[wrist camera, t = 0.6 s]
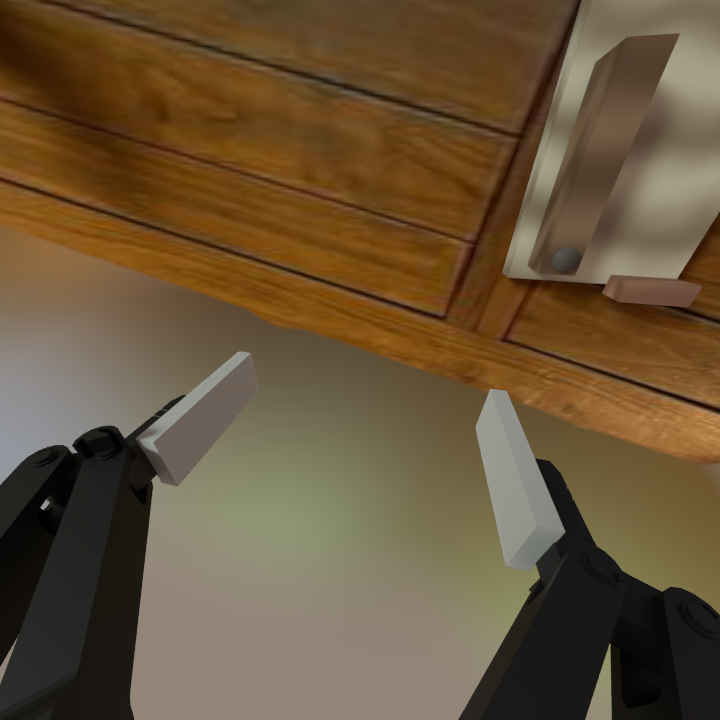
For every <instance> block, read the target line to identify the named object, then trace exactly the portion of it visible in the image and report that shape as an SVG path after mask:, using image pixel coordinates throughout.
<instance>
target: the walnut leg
mask: <svg viewBox="0 0 720 720" xmlns="http://www.w3.org/2000/svg"><path fill="white" fill-rule="evenodd" d="M679 35H680V33H674V34H659V35H644V36H630V37H626V38H625V39H624V40H623V41H621V42H620V43H619V44H618V45H616V46H615V47H614V48H613V49H611V50H610V51H609V52H608V53H606V54H605V55H604V56H603V57H601V58H600V59H599V60H598V61H596V62H595V64H594V67H593V70H592V73H591V76H590V79H589V82H588V85H587V88H586V91H585V94H584V97H583V100H582V103H581V106H580V109H579V112H578V115H577V118H576V121H575V124H574V127H573V130H572V133H571V136H570V139H569V142H568V145H567V148H566V151H565V154H564V157H563V160H562V163H561V166H560V169H559V172H558V175H557V178H556V181H555V184H554V187H553V190H552V193H551V196H550V199H549V202H548V205H547V208H546V211H545V214H544V217H543V220H542V223H541V226H540V229H539V232H538V235H537V238H536V241H535V244H534V247H533V250H532V253H531V256H530V259H529V262H528V264H527V266H529V267H531V268H532V269H534V270H535V271H537V272H538V273H540V274H549V275H565V276H575V275H576V272H577V270H578V268H579V265H580V263H581V261H582V259H583V256H584V254H585V252H586V249H587V247H588V245H589V242H590V240H591V238H592V235H593V233H594V231H595V229H596V226H597V224H598V222H599V219H600V217H601V215H602V212H603V210H604V208H605V206H606V203H607V201H608V199H609V196H610V194H611V192H612V189H613V187H614V185H615V182H616V180H617V178H618V176H619V173H620V171H621V169H622V166H623V164H624V162H625V159H626V157H627V155H628V153H629V150H630V148H631V146H632V143H633V141H634V139H635V136H636V134H637V132H638V130H639V127H640V125H641V123H642V120H643V118H644V116H645V113H646V111H647V109H648V106H649V104H650V102H651V100H652V97H653V95H654V93H655V90H656V88H657V86H658V83H659V81H660V79H661V77H662V74H663V72H664V70H665V67H666V65H667V63H668V60H669V58H670V56H671V53H672V51H673V49H674V47H675V44H676V42H677V40H678V37H679Z"/></svg>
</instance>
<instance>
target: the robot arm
mask: <svg viewBox="0 0 720 720" xmlns="http://www.w3.org/2000/svg"><path fill="white" fill-rule="evenodd" d="M258 391H259V389H258V384H257V379H256V375H255V370H254V365H253V361H252V356H251V353H246V352H238V353H236V354H235V355H234V356H233V357H232V358H231V359H229V360H228V361H227V362H226V363H225V364H223V365H222V366H221V367H220V368H219V369H218V370H216V371H215V372H214V373H213V374H212V375H210V376H209V377H208V378H207V379H206V380H205V381H203V382H202V383H201V384H200V385H199V386H197V387H196V388H195V389H194V390H193V391H191V392H190V393H189V394H188V395H187V396H186V395H182V396H180V397H178V398H176V399H174V400H172V401H171V402H169V403H168V404H167V405H166V406H165V407H163V408H162V410H160V411H158V412H157V413H156V414H155V415H154V417H151V418H150V419H149V420H147V421H146V422H145V423H144V424H142V425H141V426H140V427H139V428H137V429H136V430H135V431H134V432H133V433H131V434H130V435H129V436H128V437H127V438H125V439H124V437H123V436H122V434H121V433H120V431H119V429H118V428H116V427H115V426H102V427H98V428H95V429H92V430H90V431H88V432H86V433H85V434H83V435H82V436H80V437H79V438H78V439H76V440H75V442H74V443H73V445H72V446H73V447H74V448H75V450H76V451H77V452H78V453H74V454H73V453H71V451H69V449H68V448H67V447H66V446H64V445H54V446H50V447H47V448H44V449H42V450H39V451H37V452H35V453H34V454H32V455H30V456H29V457H27V458H26V459H25V460H24V461H23V462H21V464H20V465H19V466H18V467H17V468H16V469H15V470H14V471H13V472H12V473H11V474H10V475H9V477H8V478H7V479H6V480H5V481H4V482H3V483H2V484H1V485H0V666H1V664H2V663H3V661H4V659H5V658H6V656H7V654H8V652H9V651H10V649H11V647H12V646H13V644H14V642H15V640H16V638H17V637H18V638H17V641H16V644H15V646H14V649H13V652H12V655H11V657H10V660H9V663H8V665H7V668H6V671H5V673H4V676H3V679H2V681H1V684H0V720H134V716H133V712H132V709H131V706H130V688H131V679H132V670H133V661H134V652H135V643H136V634H137V625H138V616H139V607H140V598H141V589H142V580H143V571H144V562H145V553H146V544H147V536H148V527H149V518H150V507H151V499H152V490H153V484H152V481H151V480H152V479H153V478H154V477H155V476H156V475H158V477H159V478H160V480H161V482H162V483H165V484H170V485H174V486H179V484H180V483H181V482H182V481H183V480H184V478H185V477H186V476H187V475H188V474H189V473H190V471H191V470H192V469H193V468H194V467H195V466H196V464H197V463H198V462H199V461H200V460H201V458H202V457H203V456H204V455H205V454H206V453H207V451H208V450H209V449H210V448H211V447H212V445H213V444H214V443H215V442H216V441H217V440H218V438H219V437H220V436H221V435H222V433H223V432H224V431H225V430H226V429H227V428H228V427H229V425H230V424H231V423H232V421H234V419H235V418H236V417H237V415H239V413H240V412H241V411H242V410H243V409H244V407H245V406H246V405H247V404H248V403H249V402H250V400H251V399H252V398H253V397H254V396H255V395H256V393H257V392H258ZM476 432H477V437H478V441H479V445H480V450H481V455H482V460H483V464H484V469H485V473H486V477H487V482H488V487H489V491H490V496H491V501H492V505H493V510H494V514H495V519H496V523H497V528H498V532H499V537H500V542H501V546H502V551H503V555H504V560H505V564H506V566H508V567H512V568H516V569H520V570H525V571H530V570H531V569H532V568H533V567H534V566H535V565H537V568H538V572H539V575H540V579H539V580H538V581H537V582H536V583H535V584H534V585H533V586H532V587H531V588H530V589H529V590H530V591H531V593H530V595H529V596H528V598H527V600H526V602H525V604H524V605H523V607H522V609H521V610H520V612H519V614H518V616H517V618H516V619H515V621H514V623H513V625H512V626H511V628H510V630H509V632H508V634H507V635H506V637H505V639H504V640H503V642H502V644H501V646H500V648H499V649H498V651H497V653H496V654H495V656H494V658H493V660H492V661H491V663H490V665H489V667H488V669H487V670H486V672H485V674H484V676H483V677H482V679H481V681H480V683H479V684H478V686H477V688H476V690H475V691H474V693H473V695H472V697H471V698H470V700H469V702H468V704H467V706H466V707H465V709H464V711H463V713H462V714H461V716H460V718H459V720H585V718H586V715H587V712H588V709H589V705H590V702H591V699H592V696H593V693H594V690H595V687H596V684H597V681H598V678H599V674H600V671H601V668H602V665H603V662H604V659H605V656H606V653H607V650H608V646H609V643H610V644H611V696H612V720H720V615H719V614H718V613H717V612H716V611H715V610H714V609H713V608H712V607H711V606H710V605H709V604H708V603H706V602H705V601H703V600H702V599H700V598H699V597H697V596H696V595H695V594H693V593H691V592H688V591H686V590H684V589H682V588H675V587H670V588H668V589H666V590H665V591H663V592H661V591H659V590H657V589H655V588H654V587H652V586H650V585H648V584H646V583H644V582H642V581H640V580H638V579H636V578H634V577H632V576H630V575H628V574H627V573H625V572H623V571H622V570H621V569H620V568H619V566H618V565H617V563H616V562H615V561H614V560H613V559H612V558H611V557H610V556H609V555H608V554H607V553H606V552H605V551H603V550H602V549H600V548H598V547H597V546H596V544H595V542H594V541H593V539H592V536H591V534H590V532H589V530H588V528H587V526H586V524H585V522H584V520H583V518H582V516H581V514H580V512H579V510H578V508H577V506H576V504H575V502H574V500H572V495H571V493H570V492H569V489H567V485H566V483H565V481H564V479H563V477H562V475H561V473H560V472H559V471H558V470H557V469H556V468H555V467H554V465H553V464H552V463H551V462H550V461H546V460H541V459H535V458H534V456H533V453H532V451H531V449H530V446H529V444H528V441H527V439H526V436H525V434H524V432H523V429H522V427H521V425H520V423H519V420H518V418H517V415H516V413H515V410H514V408H513V405H512V403H511V401H510V398H509V396H508V393H507V391H502V390H495V389H490V391H489V394H488V396H487V399H486V402H485V404H484V407H483V410H482V412H481V415H480V417H479V420H478V422H477V425H476ZM45 500H47V501H49V502H50V503H49V505H48V506H47V507H46V508H45V509H44V510H42V509H41V508H40V507H41V506H42V504H43V503H44V501H45ZM18 635H19V636H18Z"/></svg>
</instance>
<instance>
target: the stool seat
mask: <svg viewBox="0 0 720 720" xmlns="http://www.w3.org/2000/svg"><path fill="white" fill-rule="evenodd" d="M674 33H680V35H679V37H678V40H677V42H676V44H675V47H674V49H673V51H672V53H671V56H670V58H669V60H668V63H667V65H666V67H665V70H664V72H663V74H662V77H661V79H660V81H659V83H658V86H657V88H656V90H655V93H654V95H653V97H652V100H651V102H650V104H649V106H648V109H647V111H646V113H645V116H644V118H643V120H642V123H641V125H640V127H639V130H638V132H637V134H636V136H635V139H634V141H633V143H632V146H631V148H630V150H629V153H628V155H627V157H626V159H625V162H624V164H623V166H622V169H621V171H620V173H619V176H618V178H617V180H616V182H615V185H614V187H613V189H612V192H611V194H610V196H609V199H608V201H607V203H606V206H605V208H604V210H603V212H602V215H601V217H600V219H599V222H598V224H597V226H596V229H595V231H594V233H593V235H592V238H591V240H590V242H589V245H588V247H587V249H586V252H585V254H584V256H583V259H582V261H581V263H580V265H579V268H578V270H577V272H576V275H575V276H565V275H549V274H540V273H538V272H537V271H535V270H534V269H532V268H531V267H529V266H527V264H528V262H529V259H530V256H531V253H532V250H533V247H534V244H535V241H536V238H537V235H538V232H539V229H540V226H541V223H542V220H543V217H544V214H545V211H546V208H547V205H548V202H549V199H550V196H551V193H552V190H553V187H554V184H555V181H556V178H557V175H558V172H559V169H560V166H561V163H562V160H563V157H564V154H565V151H566V148H567V145H568V142H569V139H570V136H571V133H572V130H573V127H574V124H575V121H576V118H577V115H578V112H579V109H580V106H581V103H582V100H583V97H584V94H585V91H586V88H587V85H588V82H589V79H590V76H591V73H592V70H593V67H594V64H595V62H596V61H598V60H599V59H600V58H601V57H603V56H604V55H605V54H606V53H608V52H609V51H610V50H611V49H613V48H614V47H615V46H616V45H618V44H619V43H620V42H621V41H623V40H624V39H625V38H626V37H630V36H644V35H659V34H674ZM719 212H720V0H582V1H581V4H580V8H579V11H578V15H577V18H576V22H575V25H574V28H573V32H572V35H571V39H570V42H569V46H568V49H567V52H566V56H565V59H564V63H563V66H562V70H561V73H560V76H559V80H558V83H557V87H556V90H555V94H554V97H553V100H552V104H551V107H550V111H549V114H548V118H547V121H546V124H545V128H544V131H543V135H542V138H541V142H540V145H539V148H538V152H537V155H536V159H535V162H534V166H533V169H532V172H531V176H530V179H529V183H528V186H527V190H526V193H525V196H524V200H523V203H522V207H521V210H520V214H519V217H518V220H517V224H516V227H515V231H514V234H513V238H512V241H511V244H510V248H509V251H508V255H507V258H506V262H505V265H504V268H503V272H502V273H503V274H504V275H505V276H507V277H508V278H522V279H537V280H552V281H567V282H582V283H597V284H606V286H605V288H604V290H603V292H602V294H604V295H606V296H608V297H610V298H612V299H614V300H615V301H617V302H625V303H638V304H651V305H665V306H678V307H689V306H690V304H691V303H692V301H693V300H694V299H695V297H696V296H697V294H698V293H699V291H700V290H701V289H702V286H698V285H695V284H692V283H689V282H686V281H683V280H679V279H677V278H678V276H679V275H680V273H681V272H682V270H683V269H684V267H685V265H686V264H687V262H688V261H689V259H690V258H691V256H692V254H693V253H694V251H695V250H696V248H697V247H698V245H699V243H700V242H701V240H702V239H703V237H704V236H705V234H706V232H707V231H708V229H709V228H710V226H711V225H712V223H713V221H714V220H715V218H716V217H717V215H718V213H719Z"/></svg>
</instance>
